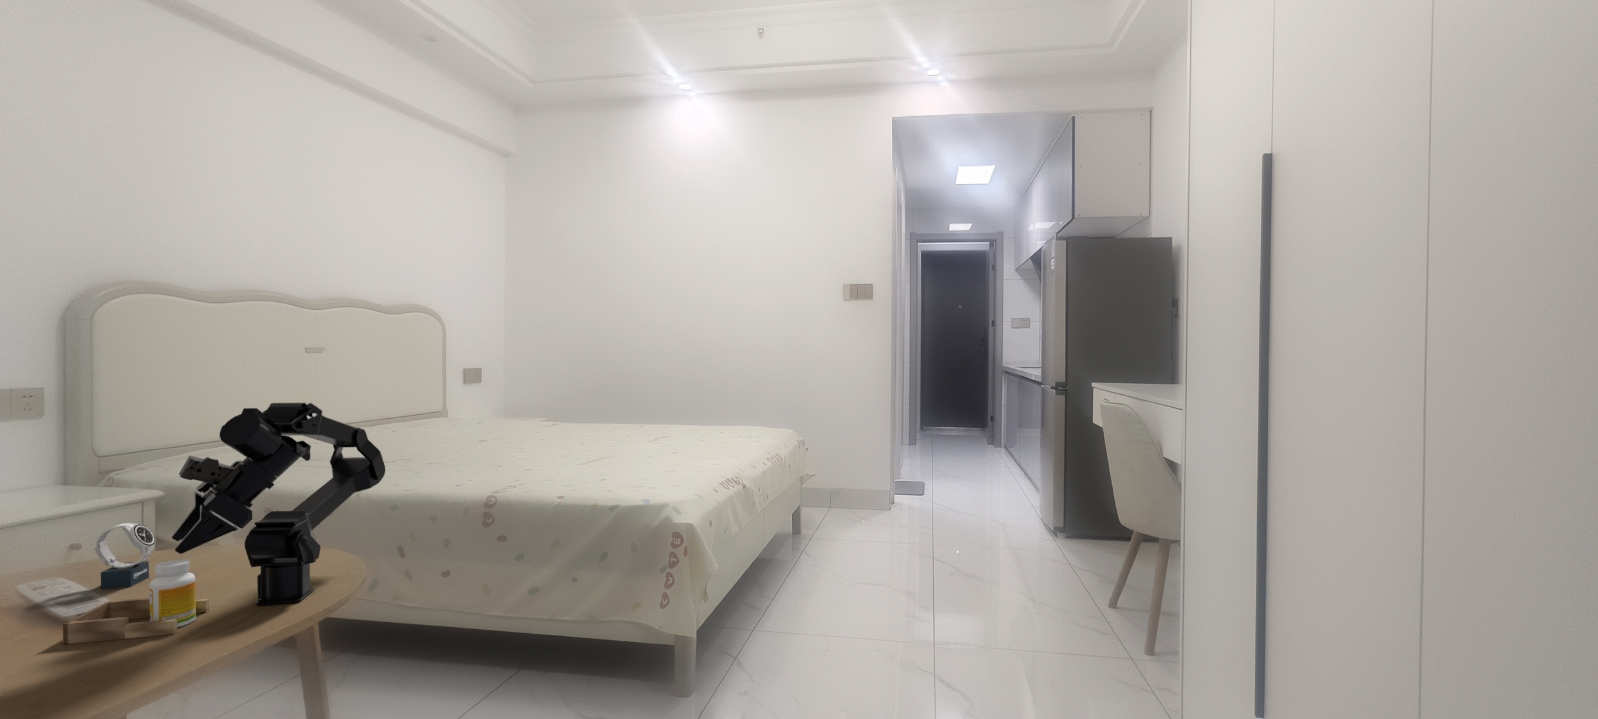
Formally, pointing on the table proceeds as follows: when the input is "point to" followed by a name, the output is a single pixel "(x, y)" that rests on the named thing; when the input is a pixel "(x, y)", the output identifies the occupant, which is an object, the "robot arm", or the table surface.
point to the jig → (120, 622)
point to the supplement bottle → (173, 593)
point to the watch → (126, 572)
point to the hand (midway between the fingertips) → (175, 545)
